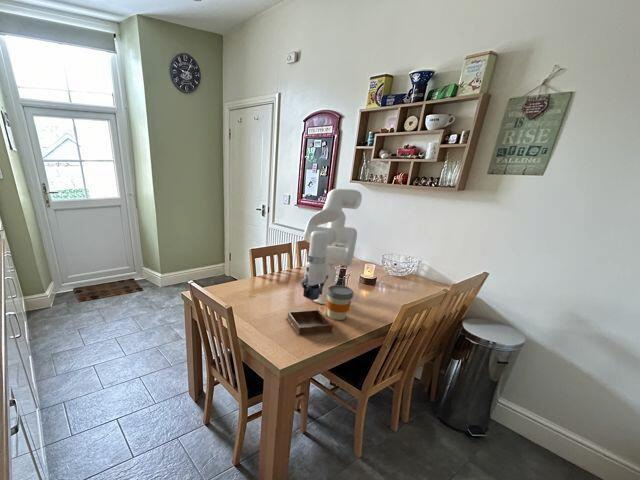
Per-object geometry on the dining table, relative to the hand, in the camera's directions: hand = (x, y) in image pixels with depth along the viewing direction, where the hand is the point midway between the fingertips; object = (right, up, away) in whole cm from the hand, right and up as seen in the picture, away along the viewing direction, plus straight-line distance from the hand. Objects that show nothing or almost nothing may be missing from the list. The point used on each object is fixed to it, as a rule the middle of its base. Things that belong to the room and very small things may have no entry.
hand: (312, 295), depth 153 cm
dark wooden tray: (0, -15, +6) cm, 16 cm away
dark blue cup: (0, -1, +1) cm, 1 cm away
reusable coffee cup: (+16, -11, +16) cm, 25 cm away
